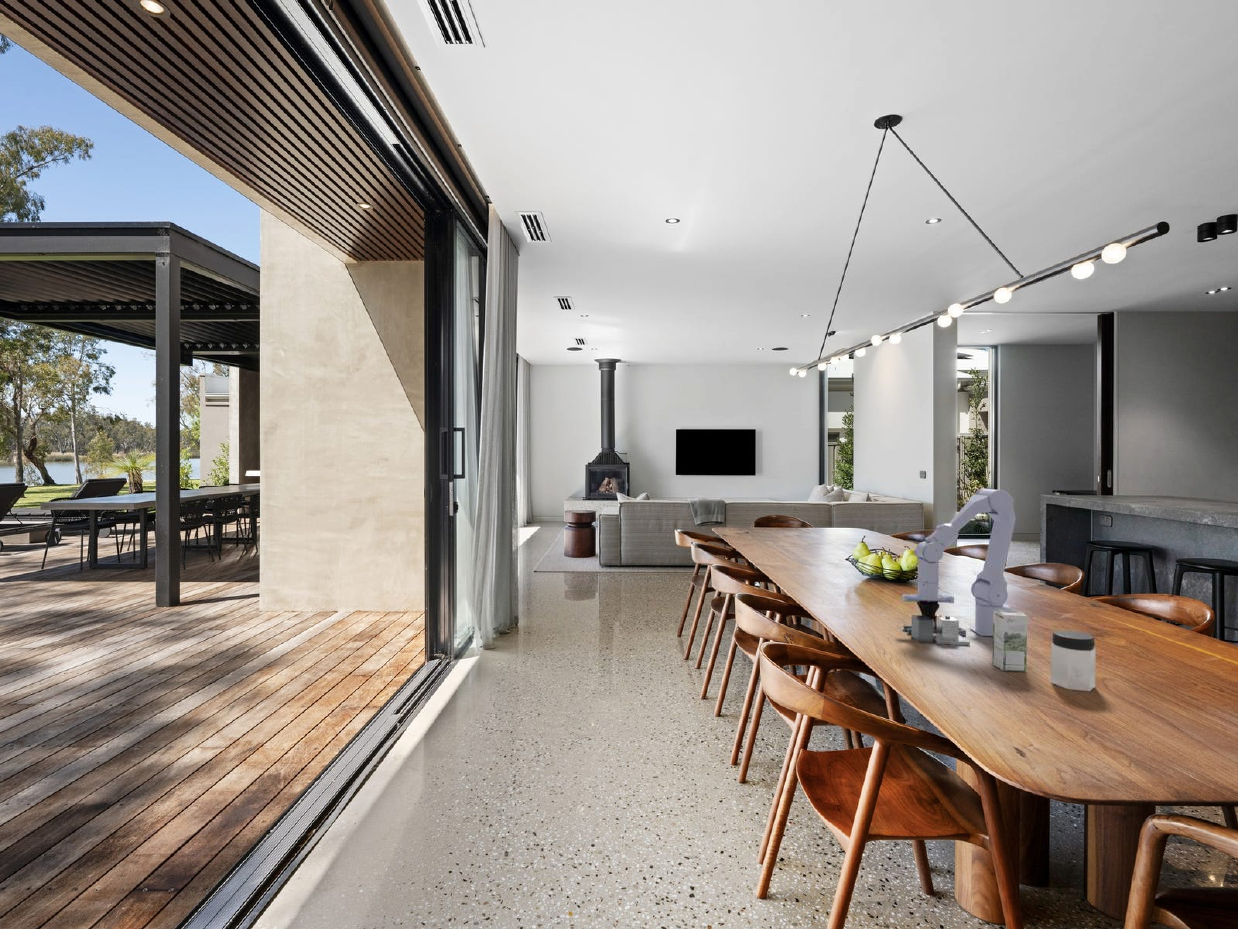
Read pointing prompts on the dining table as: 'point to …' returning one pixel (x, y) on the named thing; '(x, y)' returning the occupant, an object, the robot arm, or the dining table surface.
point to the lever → (936, 620)
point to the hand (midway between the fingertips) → (927, 625)
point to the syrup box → (1010, 640)
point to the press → (931, 632)
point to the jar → (1073, 660)
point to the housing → (947, 627)
